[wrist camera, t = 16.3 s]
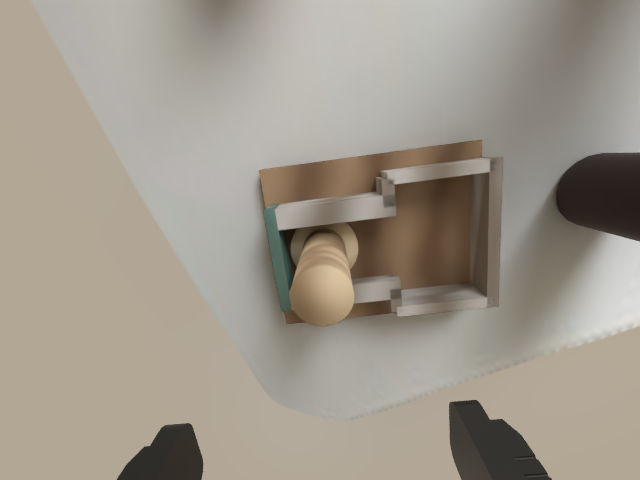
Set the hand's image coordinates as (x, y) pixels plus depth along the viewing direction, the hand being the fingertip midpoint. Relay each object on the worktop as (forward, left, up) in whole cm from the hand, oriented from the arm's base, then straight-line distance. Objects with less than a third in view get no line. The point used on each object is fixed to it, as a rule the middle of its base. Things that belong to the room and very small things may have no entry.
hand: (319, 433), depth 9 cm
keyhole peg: (0, 0, -21) cm, 21 cm away
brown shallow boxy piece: (-5, 0, -22) cm, 23 cm away
